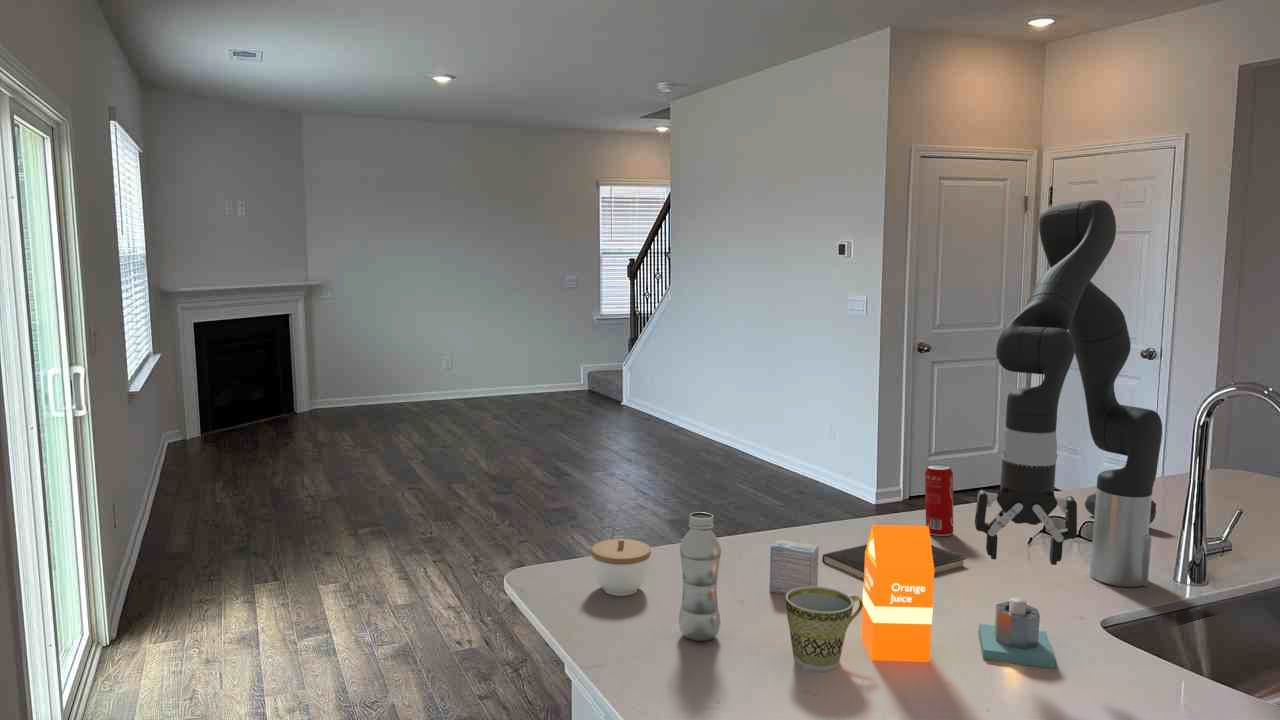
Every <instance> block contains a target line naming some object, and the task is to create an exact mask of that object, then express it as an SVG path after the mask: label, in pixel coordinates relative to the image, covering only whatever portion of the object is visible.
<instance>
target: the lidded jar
mask: <svg viewBox="0 0 1280 720" xmlns="http://www.w3.org/2000/svg"><path fill="white" fill-rule="evenodd" d="M651 549H652V548H651V547H650V546H649V545H648V544H647V543H645V542H643V541H639V540H636V539H635V540H634V539H629V538H627V539H626V538H613V539H606V540H605V539H604V540H602V541H600V542H597V543H594V544H593V546H592V547H591V553H590V554H591V565H592V571H593V572H592V573H593V577H594V578H595V580H596V582H597V584H598V585H599V586H600V587H601V588H602V589H603V591H604V593H606V594H608V595H610V596H615V597H616V596H617V597H625V596H631V595H633V594H635V593H638V590H639V589H640V588H641V587H642V585H644V583H645V581H646V580H647V577H648V575H649V571H650V563H651V554H652V553H651V552H652V551H651Z"/></svg>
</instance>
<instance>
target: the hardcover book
mask: <svg viewBox="0 0 1280 720" xmlns="http://www.w3.org/2000/svg"><path fill="white" fill-rule="evenodd" d="M867 544H868V543H867ZM867 544H863V545H857V546H855V547H849V548H845V549H840V550H836V551H831V552H827V553H823V555H822V562H823V561H826V562H828V563H830V564H829V565H831V564H832V565H831V566H833V565H835V566H837V567H839V568H838V569H840V568H841V569H840V570H842V569H844V570H846V571H845V572H847V571H848V572H847V573H849V572H850V573H849V574H851V573H852V574H851V575H853V574H855V575H854V576H856V575H857V576H856V577H858V576H859V577H858V578H860V577H861V578H860V579H862V578H864V566H865V551H866V548H867ZM931 548H932V556H933V564H934V569H935V570H934V574H937V573H941V572H945V571H948V570H952V569H956V568H959V567H962V566H964V563H965V562H964V561H965V560H967V558H966V556H964V555H959V554H957V553H954V552H951V551H949V550H946V549H943V548H941V547H938V546H935V545H933V544H931ZM826 562H825V563H826ZM828 563H827V564H828ZM835 566H834V567H835ZM837 567H836V568H837ZM844 570H843V571H844Z"/></svg>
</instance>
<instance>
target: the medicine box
mask: <svg viewBox="0 0 1280 720" xmlns="http://www.w3.org/2000/svg"><path fill="white" fill-rule="evenodd" d="M819 548H820V547H819V546H818V545H816V544H810V543H809V544H808V543H802V542H797V541H796V542H795V541H789V540H781V539H777V540H776V541H775V542H774V543H773V544H772V545H771V546H770V556H769V557H770V559H769V566H770V567H769V592H772V593H778V594H784V595H786V594H787V593H788V592H789V591H791V590H793V589H795V588H800V587H809V586H815V587H819V586H818V584H819V583H818V581H819V579H818V577H819V575H818V574H819V573H818V572H819V550H820V549H819Z"/></svg>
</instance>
